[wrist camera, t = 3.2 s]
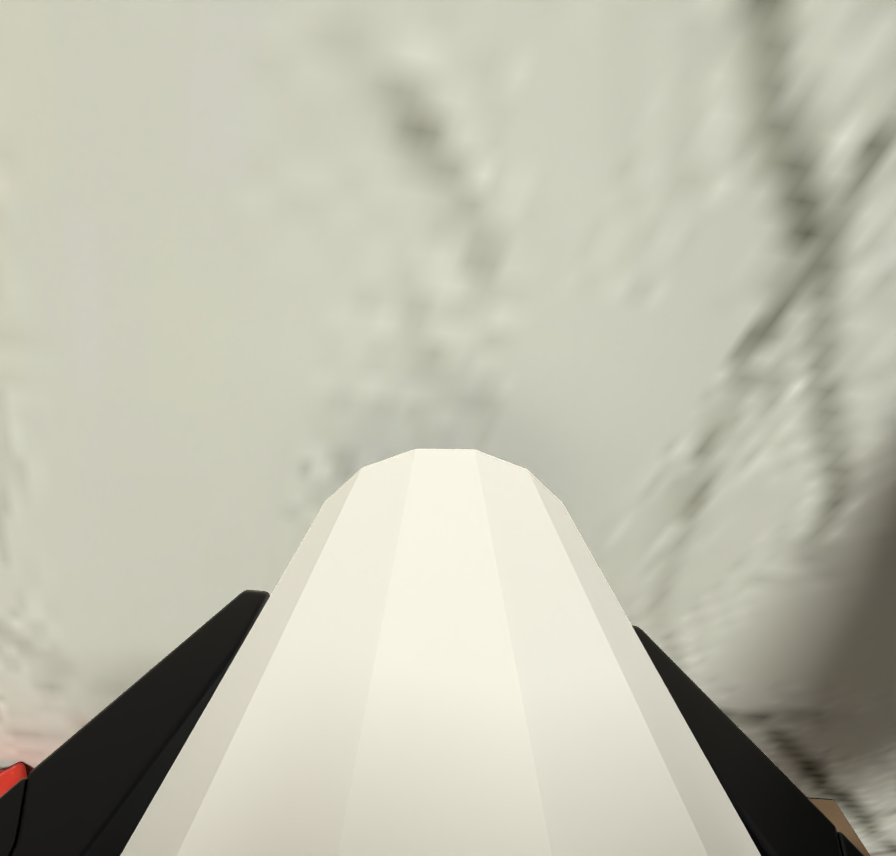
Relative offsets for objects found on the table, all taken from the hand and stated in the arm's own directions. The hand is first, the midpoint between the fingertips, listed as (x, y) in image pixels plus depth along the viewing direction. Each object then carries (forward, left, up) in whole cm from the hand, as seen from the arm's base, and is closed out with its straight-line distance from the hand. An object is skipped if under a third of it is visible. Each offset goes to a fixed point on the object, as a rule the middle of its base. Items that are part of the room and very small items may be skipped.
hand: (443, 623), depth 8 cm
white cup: (0, 0, -2) cm, 2 cm away
